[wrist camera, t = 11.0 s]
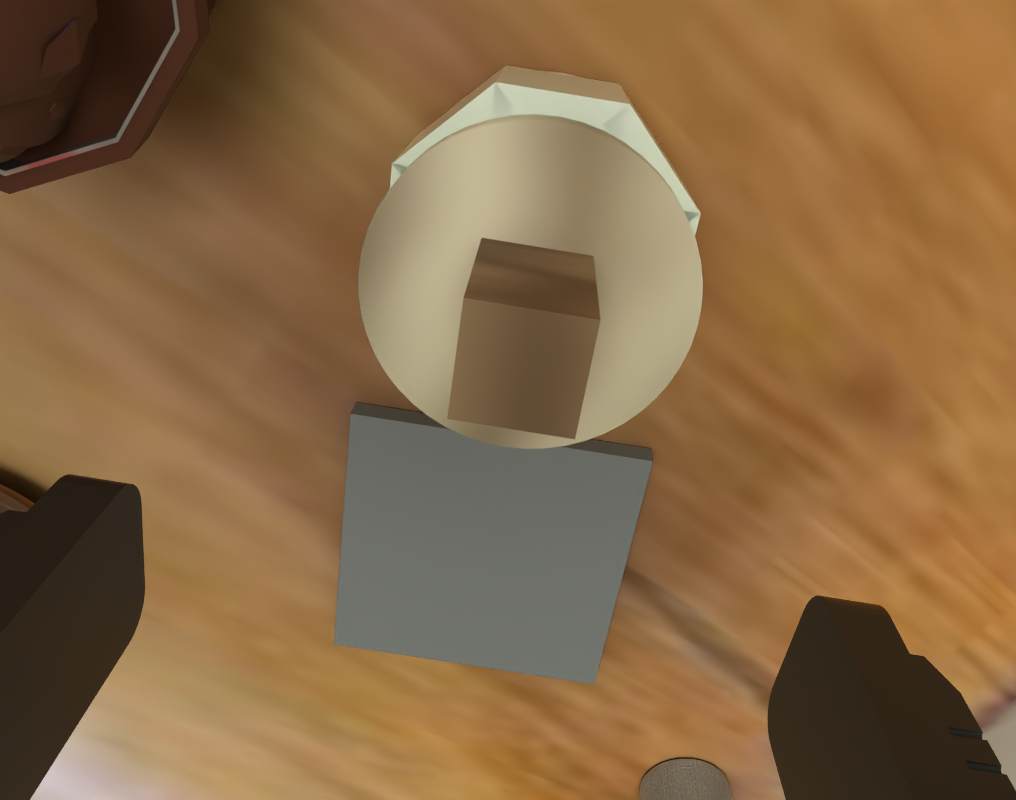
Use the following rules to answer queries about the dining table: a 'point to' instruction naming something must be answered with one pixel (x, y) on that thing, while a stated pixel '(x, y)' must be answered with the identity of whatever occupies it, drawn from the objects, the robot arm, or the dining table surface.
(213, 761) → the dining table surface
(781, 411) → the dining table surface
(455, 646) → the mat
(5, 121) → the ice cream bowl
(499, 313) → the lid
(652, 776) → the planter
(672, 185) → the bowl
